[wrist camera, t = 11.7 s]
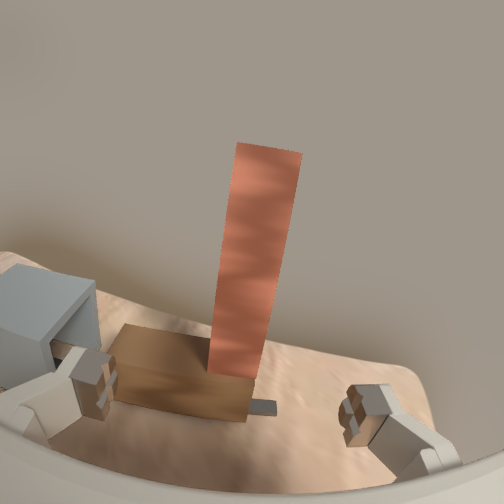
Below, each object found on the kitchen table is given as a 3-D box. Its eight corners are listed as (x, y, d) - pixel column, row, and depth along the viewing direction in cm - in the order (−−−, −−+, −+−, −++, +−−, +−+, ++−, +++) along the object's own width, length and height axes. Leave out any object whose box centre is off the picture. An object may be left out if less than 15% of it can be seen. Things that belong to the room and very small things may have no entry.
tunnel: (-20, 376, 17) (-44, 308, 15) (28, 324, 25) (17, 263, 23) (61, 412, 17) (39, 341, 15) (101, 345, 26) (95, 280, 24)
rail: (-5, 349, 20) (-7, 345, 20) (2, 341, 22) (1, 338, 22) (276, 416, 22) (277, 413, 22) (275, 403, 23) (276, 400, 23)
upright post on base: (110, 398, 19) (99, 130, 13) (127, 361, 24) (131, 131, 18) (247, 422, 20) (305, 154, 14) (247, 381, 24) (292, 151, 18)
